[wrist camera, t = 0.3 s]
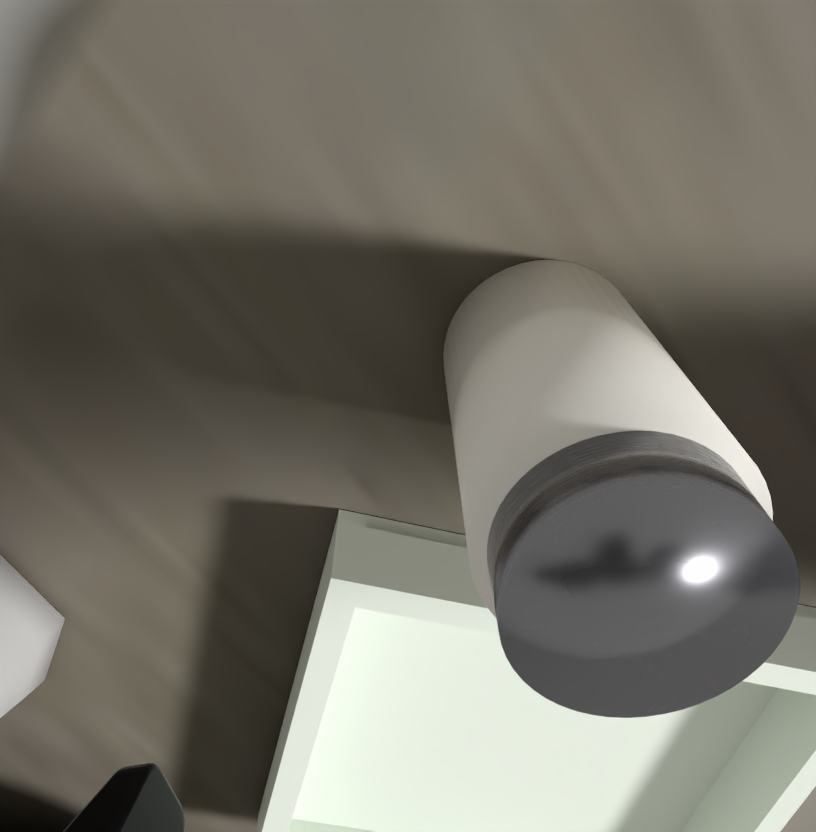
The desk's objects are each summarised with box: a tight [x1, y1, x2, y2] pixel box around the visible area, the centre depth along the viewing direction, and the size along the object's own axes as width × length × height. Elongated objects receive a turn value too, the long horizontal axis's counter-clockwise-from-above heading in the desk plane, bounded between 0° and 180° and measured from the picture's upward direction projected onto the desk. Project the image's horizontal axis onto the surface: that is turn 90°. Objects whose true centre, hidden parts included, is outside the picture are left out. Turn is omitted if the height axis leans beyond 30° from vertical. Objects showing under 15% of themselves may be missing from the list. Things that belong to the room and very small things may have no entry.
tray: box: [256, 509, 816, 832], centre depth 25 cm, size 16×14×3 cm
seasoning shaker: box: [443, 260, 800, 718], centre depth 15 cm, size 5×5×10 cm
